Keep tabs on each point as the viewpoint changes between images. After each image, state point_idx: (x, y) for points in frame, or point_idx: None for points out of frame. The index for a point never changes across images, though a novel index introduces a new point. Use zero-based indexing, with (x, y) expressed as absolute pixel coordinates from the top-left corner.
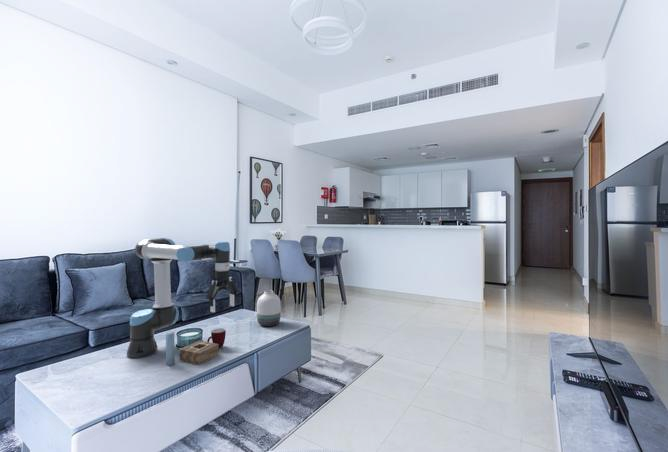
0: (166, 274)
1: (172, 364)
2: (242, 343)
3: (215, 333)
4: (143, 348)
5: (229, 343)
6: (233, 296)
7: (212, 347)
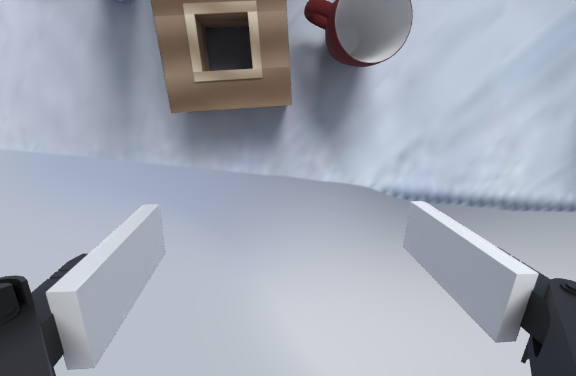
0: None
1: (119, 1)
2: (415, 106)
3: (335, 37)
4: None
5: None
6: (480, 321)
7: (252, 107)
